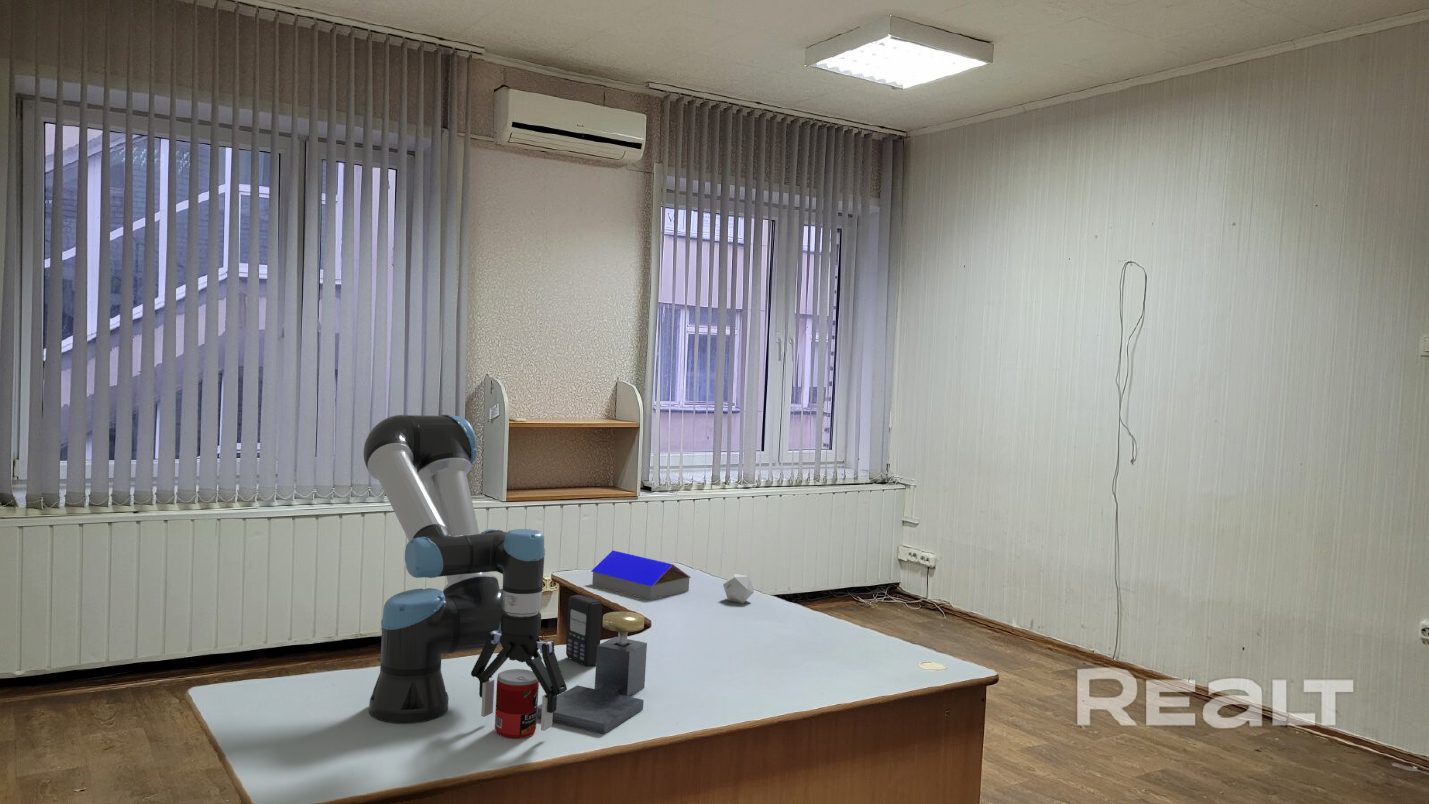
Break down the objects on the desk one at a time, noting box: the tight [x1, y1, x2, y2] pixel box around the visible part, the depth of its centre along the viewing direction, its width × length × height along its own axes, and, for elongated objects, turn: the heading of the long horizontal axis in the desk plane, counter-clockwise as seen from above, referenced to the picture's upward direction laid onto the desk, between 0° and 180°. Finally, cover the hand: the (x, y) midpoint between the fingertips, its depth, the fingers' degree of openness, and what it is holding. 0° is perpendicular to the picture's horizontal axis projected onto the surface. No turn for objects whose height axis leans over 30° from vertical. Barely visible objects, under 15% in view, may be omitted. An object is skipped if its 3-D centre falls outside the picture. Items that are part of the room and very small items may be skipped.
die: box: [722, 573, 755, 604], centre depth 307 cm, size 8×9×10 cm
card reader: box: [565, 594, 603, 667], centre depth 240 cm, size 9×4×15 cm, turn 45°
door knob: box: [601, 611, 645, 647], centre depth 222 cm, size 9×9×10 cm
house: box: [590, 550, 692, 601], centre depth 316 cm, size 19×25×10 cm
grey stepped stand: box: [537, 636, 648, 735], centre depth 213 cm, size 16×28×10 cm, turn 156°
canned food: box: [494, 668, 540, 740], centre depth 195 cm, size 8×8×11 cm
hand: (516, 721), depth 195 cm, fingers open, 13 cm apart
